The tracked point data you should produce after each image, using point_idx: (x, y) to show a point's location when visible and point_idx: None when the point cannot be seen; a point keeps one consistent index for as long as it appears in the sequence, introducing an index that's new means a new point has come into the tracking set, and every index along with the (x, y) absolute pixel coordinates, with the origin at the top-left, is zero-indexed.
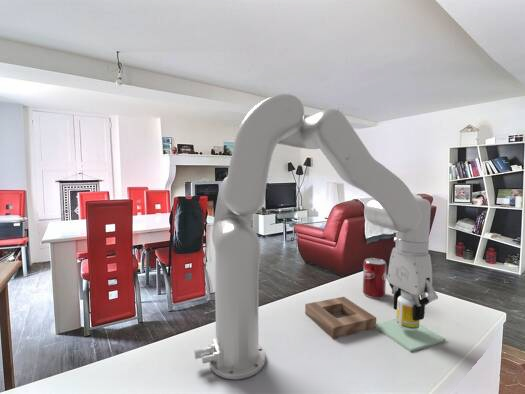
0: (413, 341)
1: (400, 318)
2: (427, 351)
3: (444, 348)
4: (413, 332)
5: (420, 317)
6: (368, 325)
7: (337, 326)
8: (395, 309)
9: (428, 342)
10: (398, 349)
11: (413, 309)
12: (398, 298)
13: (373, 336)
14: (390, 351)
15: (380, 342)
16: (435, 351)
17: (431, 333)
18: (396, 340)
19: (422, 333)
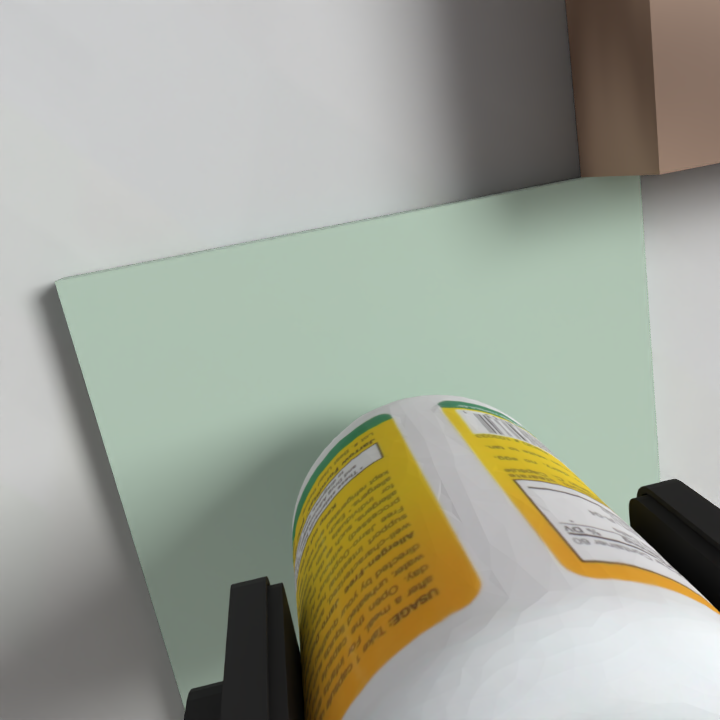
0: (204, 422)
1: (430, 439)
2: (56, 471)
3: (89, 666)
4: None
5: (196, 703)
6: (599, 31)
7: None
8: (639, 496)
9: (163, 569)
10: (127, 169)
11: (263, 709)
12: (714, 646)
13: (431, 25)
14: (99, 38)
15: (295, 33)
16: (48, 550)
17: None
18: (263, 239)
19: None
